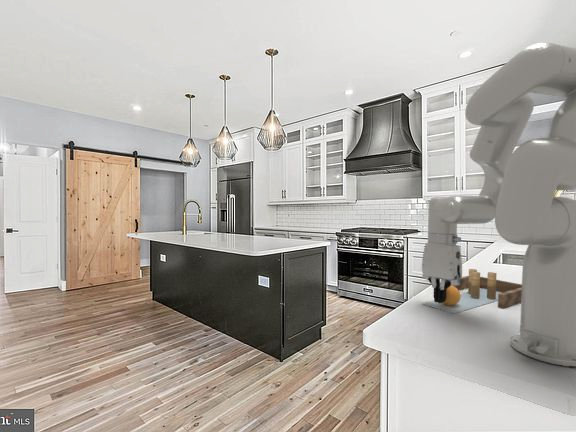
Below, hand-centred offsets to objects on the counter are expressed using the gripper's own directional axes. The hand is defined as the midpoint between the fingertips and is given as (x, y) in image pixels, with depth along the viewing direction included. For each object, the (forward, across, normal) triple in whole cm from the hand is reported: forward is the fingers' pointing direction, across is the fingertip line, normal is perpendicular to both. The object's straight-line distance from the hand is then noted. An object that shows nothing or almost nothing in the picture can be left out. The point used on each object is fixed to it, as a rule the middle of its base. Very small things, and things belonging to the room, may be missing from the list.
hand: (439, 301), depth 92 cm
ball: (-1, 0, -5) cm, 5 cm away
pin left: (+2, +2, -23) cm, 23 cm away
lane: (+2, -1, -16) cm, 17 cm away
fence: (+2, -2, -26) cm, 26 cm away
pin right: (+2, -4, -23) cm, 23 cm away
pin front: (+2, -1, -19) cm, 19 cm away
